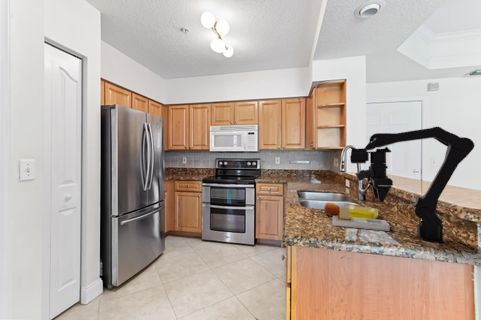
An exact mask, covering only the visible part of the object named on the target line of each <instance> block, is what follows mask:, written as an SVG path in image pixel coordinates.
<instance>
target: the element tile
mask: <svg viewBox="0 0 481 320" xmlns="http://www.w3.org/2000/svg"><path fill="white" fill-rule="evenodd" d="M346 206H347V207H349V217H353V218H364V219H376V220H378V217H379V210H378V208H375V207H366V206H358V205H350V204H349V205H346Z"/></svg>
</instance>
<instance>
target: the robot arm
mask: <svg viewBox="0 0 481 320" xmlns="http://www.w3.org/2000/svg"><path fill="white" fill-rule="evenodd" d="M428 139H434V140H436V141H437V142H439V143H441V144H442V145H444V146H446V147H447V148H446V150H445V155H444V160H443V163H442V164H441V166H440V167H439V170H438V171H437V172H436V175H434V178H433V180H432V182H431V184H430V185H429V187H428V189H427V190H426V192H425V193H424V194H423V195H422V196H420V195H417V197H416V199H415V202H413V203H412V205H413V211H414V214H415V216H416V217H417V218H418V219H420V220H418V224H417V225H416V227H417V228H416V230H417V231H416V233H417V234H416V235H417V236H418V237H419V238H420V239H421V240H422V241H426V242H437V243H446V241H445V239H444V231H443V230H444V225H443V220H442V217H440V215H439V214H437V213H436V210H437V209H438V208H437V207H438V204H439V203H438V201H439V198H440V196H441V195H442V194H443V191H444V190H445V188H446V187H447V185H448V183H449V182H450V180H451V178H452V176H453V174H454V173H455V171H456V169H457V168H458V166H459V165H460V163H461V162H462V161H464V160H465V158H467V157H468V156H469V154H471V152H472V151H473V150H474V148H475V143H474V141H473V140H472V139H471V138H468V137H462V136H458V135H457V134H454V133H452V132H450V131H447V130H446V129H444V128H443V127H441V126H433V127H429V128H428V127H427V128H423V129H416V130H410V131H402V132H397V133H395V132H393V133H392V132H391V133H390V132H388V133H387V132H382V133H379V132H376V133H373V134H372V135H370V137H369V142H368V143H367V144H366V145H365V147H364V148H363V147H362V148H355V147H354V148H353V147H352V148H351V152H350V158H349V159H350V163H351V164H366V163H367V162H369V161H370V162H369V164H370V165H369V166H368V169H362V170H359V172H356V173H355V176H356V178H357V181H359V182H360V181H363V180H365V179H366V182H367V184H368V185H370V186H371V189H372V192H373V197H374V199H377V200H378V201H379V203H384V202H385V199H386V198H387V195H388V194H389V191H390V190H391V189H392V186H393V185H394V184H393V183H394V181H393V180H392V179H391V177H388V175H387V169H388V167H389V166H388V165H387V153H392V150H391V149H390V148H388V146H390V145H394V144H397V143H403V142H404V143H405V142H410V141H419V140H428ZM383 147H384V148H383ZM374 149H375V151H373V150H374Z"/></svg>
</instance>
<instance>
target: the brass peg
mask: <svg viewBox="0 0 481 320" xmlns="http://www.w3.org/2000/svg"><path fill="white" fill-rule="evenodd" d="M338 206H339V214H338V216H339V219H341V220H350V217H349V207H347V206H348V205H346V206H344V205H338Z"/></svg>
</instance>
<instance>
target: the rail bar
mask: <svg viewBox="0 0 481 320" xmlns="http://www.w3.org/2000/svg"><path fill="white" fill-rule="evenodd" d="M332 226H334V227H346V228H354V229H365V230H373V231H375V230H376V231H382V232H385V231H386V232H390V231H391V230H390V224H389V223H388V222H387V221H386V220H383V219H364V218H353V217H350V220H341V219H339V215H337V216H332Z"/></svg>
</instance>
